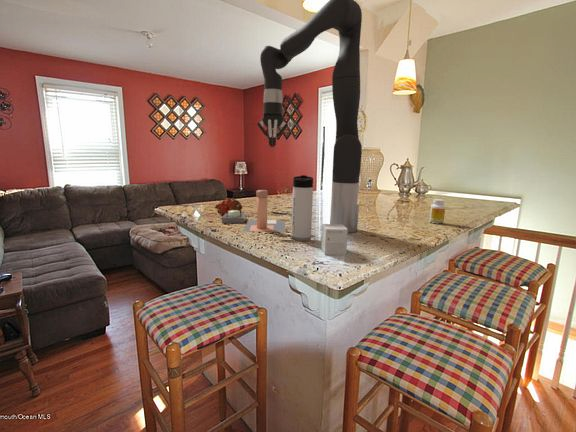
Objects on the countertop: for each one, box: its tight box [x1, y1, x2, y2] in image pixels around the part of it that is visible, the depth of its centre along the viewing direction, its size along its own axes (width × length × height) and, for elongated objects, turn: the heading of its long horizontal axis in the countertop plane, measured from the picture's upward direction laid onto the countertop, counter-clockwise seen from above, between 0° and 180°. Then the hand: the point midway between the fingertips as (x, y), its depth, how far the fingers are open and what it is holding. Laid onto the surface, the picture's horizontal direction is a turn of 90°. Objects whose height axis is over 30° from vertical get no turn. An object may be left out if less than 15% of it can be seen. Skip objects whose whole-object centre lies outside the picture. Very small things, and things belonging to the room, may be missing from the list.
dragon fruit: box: [214, 197, 243, 215], centre depth 130 cm, size 8×8×12 cm
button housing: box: [221, 213, 247, 224], centre depth 117 cm, size 8×8×3 cm
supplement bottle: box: [428, 198, 446, 224], centre depth 126 cm, size 5×5×10 cm
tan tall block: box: [255, 189, 269, 229], centre depth 106 cm, size 4×4×13 cm
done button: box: [228, 210, 241, 217], centre depth 117 cm, size 4×4×4 cm
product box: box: [320, 223, 349, 256], centre depth 86 cm, size 6×6×7 cm
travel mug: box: [291, 174, 314, 242], centre depth 97 cm, size 6×7×20 cm
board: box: [243, 219, 286, 233], centre depth 111 cm, size 14×18×1 cm
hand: (272, 147), depth 126 cm, fingers closed
